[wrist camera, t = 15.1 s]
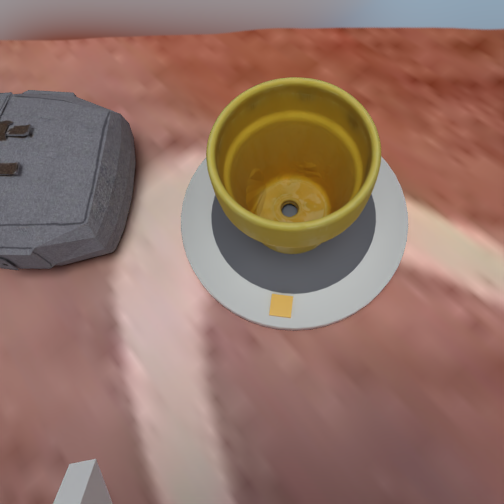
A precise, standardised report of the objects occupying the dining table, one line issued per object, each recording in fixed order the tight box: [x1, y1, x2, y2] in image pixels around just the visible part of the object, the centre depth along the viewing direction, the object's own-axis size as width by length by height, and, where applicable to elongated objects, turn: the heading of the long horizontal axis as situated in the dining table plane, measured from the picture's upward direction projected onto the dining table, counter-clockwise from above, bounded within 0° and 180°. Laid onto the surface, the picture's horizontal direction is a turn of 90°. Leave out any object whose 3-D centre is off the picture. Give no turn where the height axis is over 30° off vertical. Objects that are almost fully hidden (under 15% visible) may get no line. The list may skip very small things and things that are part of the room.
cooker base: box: [181, 157, 408, 331], centre depth 35 cm, size 18×18×2 cm
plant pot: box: [206, 77, 381, 254], centre depth 30 cm, size 10×10×10 cm
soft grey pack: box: [0, 90, 136, 270], centre depth 35 cm, size 15×8×20 cm
